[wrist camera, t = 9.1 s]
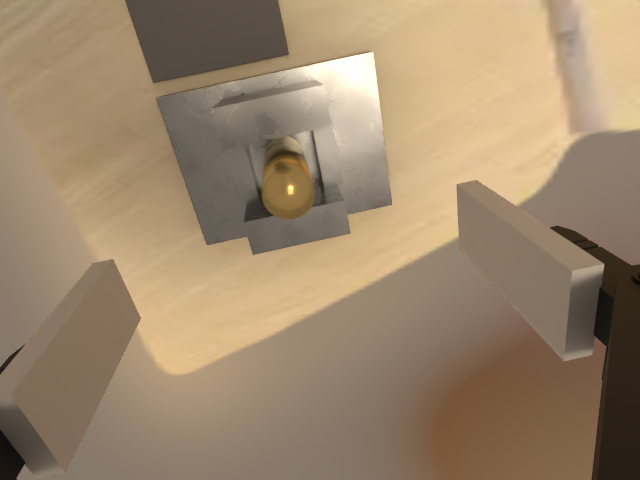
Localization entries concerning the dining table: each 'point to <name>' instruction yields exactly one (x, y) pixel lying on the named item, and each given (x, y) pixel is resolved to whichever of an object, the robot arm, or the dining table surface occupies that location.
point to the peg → (286, 179)
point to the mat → (205, 34)
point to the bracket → (274, 122)
